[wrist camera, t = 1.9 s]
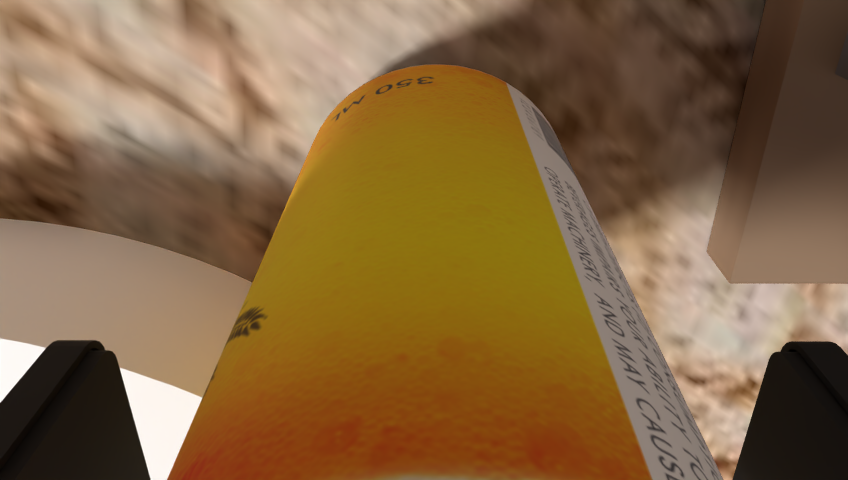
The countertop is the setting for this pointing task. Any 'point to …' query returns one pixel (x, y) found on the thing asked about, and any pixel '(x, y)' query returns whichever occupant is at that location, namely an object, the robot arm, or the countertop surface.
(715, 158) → the countertop surface
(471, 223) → the beer can
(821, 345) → the robot arm
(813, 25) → the wooden tray with frame
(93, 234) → the white circle with bar
